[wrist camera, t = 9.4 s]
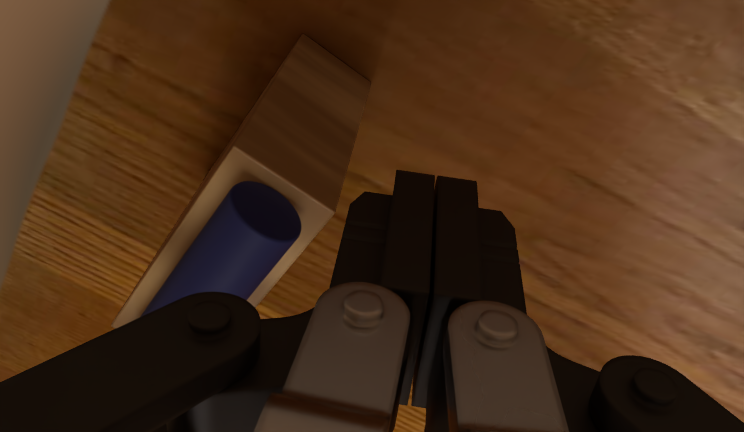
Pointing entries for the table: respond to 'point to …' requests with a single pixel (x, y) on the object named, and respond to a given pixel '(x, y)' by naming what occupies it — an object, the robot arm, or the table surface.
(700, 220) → the table surface
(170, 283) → the blue cylinder
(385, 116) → the table surface
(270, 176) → the wooden block
